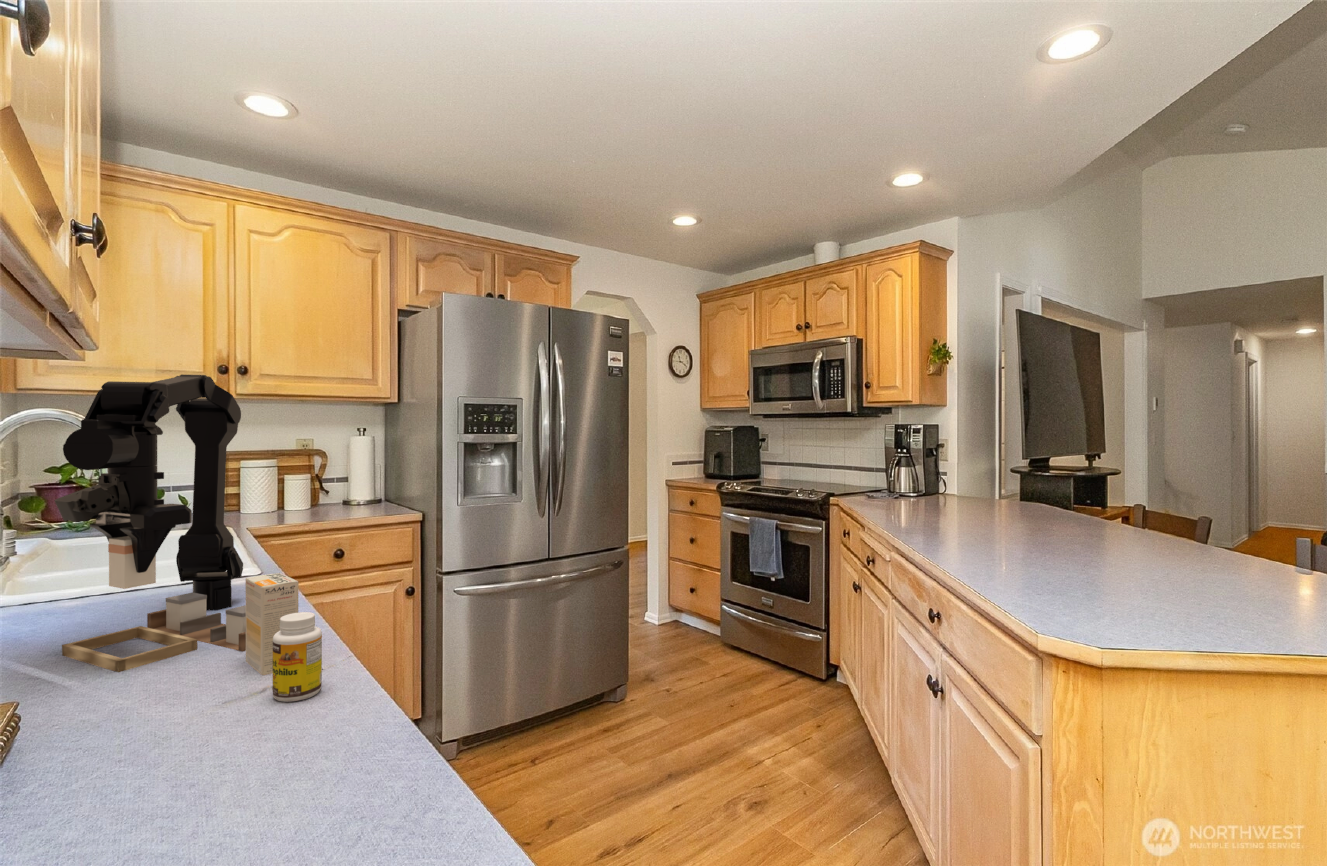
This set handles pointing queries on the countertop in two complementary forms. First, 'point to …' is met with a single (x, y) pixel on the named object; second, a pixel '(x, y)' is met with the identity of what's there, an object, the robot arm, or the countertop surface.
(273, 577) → the supplement box
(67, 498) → the robot arm
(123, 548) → the beige striped box
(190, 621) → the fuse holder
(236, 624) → the block
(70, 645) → the tray
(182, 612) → the grey beige rectangular block
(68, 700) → the countertop surface
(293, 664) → the supplement bottle
